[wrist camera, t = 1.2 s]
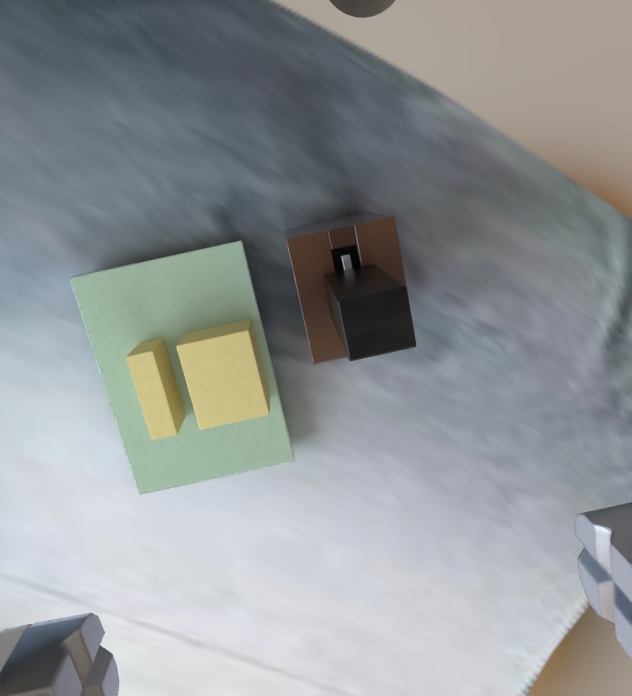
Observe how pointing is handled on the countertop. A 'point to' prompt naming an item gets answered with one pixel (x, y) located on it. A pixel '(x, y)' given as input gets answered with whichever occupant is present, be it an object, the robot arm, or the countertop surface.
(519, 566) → the countertop surface
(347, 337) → the knife
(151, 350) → the butter slice
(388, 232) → the knife block
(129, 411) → the butter dish
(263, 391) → the butter block
